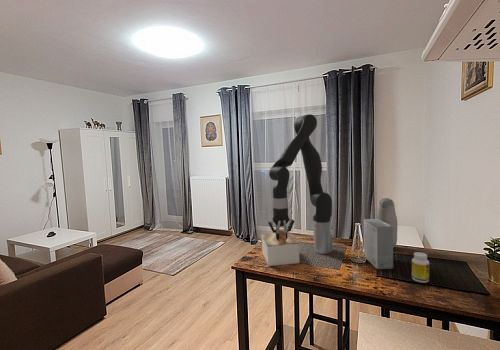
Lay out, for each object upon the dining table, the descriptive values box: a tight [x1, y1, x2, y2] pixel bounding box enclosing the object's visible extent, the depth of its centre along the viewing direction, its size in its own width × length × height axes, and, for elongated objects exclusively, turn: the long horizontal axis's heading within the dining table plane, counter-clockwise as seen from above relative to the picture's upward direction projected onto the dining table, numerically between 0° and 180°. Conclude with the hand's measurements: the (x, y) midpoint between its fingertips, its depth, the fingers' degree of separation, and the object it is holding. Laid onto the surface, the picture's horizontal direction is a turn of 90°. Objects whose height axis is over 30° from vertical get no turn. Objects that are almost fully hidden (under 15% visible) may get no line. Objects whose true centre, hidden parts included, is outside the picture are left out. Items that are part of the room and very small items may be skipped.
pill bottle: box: [411, 251, 430, 284], centre depth 109 cm, size 6×6×11 cm
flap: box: [261, 228, 300, 247], centre depth 138 cm, size 16×18×6 cm
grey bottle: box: [376, 197, 398, 249], centre depth 143 cm, size 10×10×28 cm
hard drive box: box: [363, 218, 394, 270], centre depth 127 cm, size 16×8×20 cm, turn 179°
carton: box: [261, 236, 300, 267], centre depth 139 cm, size 16×18×10 cm
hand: (281, 239), depth 132 cm, fingers closed on flap, 3 cm apart
